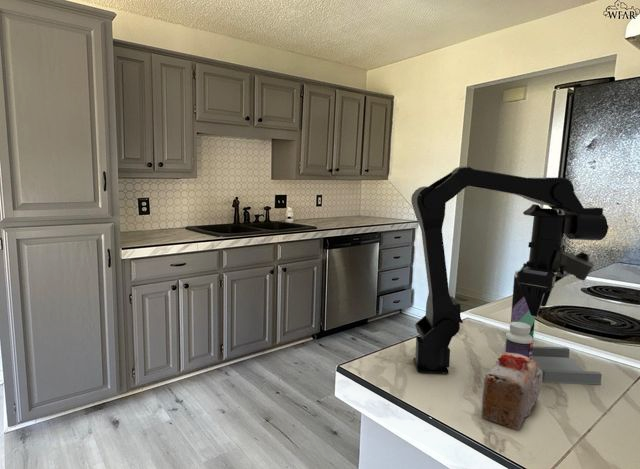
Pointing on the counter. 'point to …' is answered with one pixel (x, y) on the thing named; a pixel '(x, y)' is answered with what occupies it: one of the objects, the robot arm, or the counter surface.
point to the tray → (562, 367)
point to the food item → (511, 389)
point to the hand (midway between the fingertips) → (538, 310)
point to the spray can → (521, 306)
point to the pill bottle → (519, 339)
